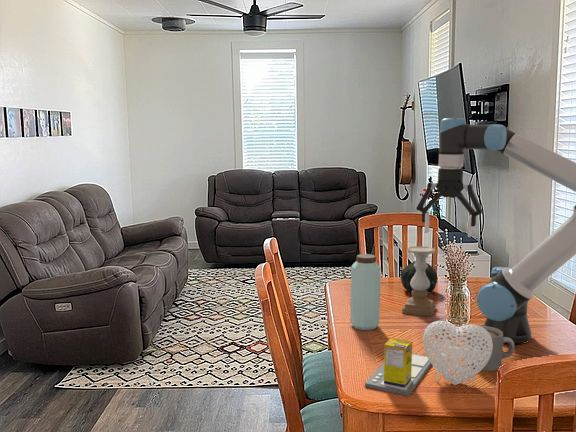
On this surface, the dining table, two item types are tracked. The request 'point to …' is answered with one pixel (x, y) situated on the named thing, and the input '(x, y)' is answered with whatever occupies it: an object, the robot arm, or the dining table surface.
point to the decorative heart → (457, 350)
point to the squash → (410, 272)
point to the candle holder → (420, 285)
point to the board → (377, 382)
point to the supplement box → (397, 362)
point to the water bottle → (365, 292)
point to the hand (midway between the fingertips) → (447, 234)
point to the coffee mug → (495, 348)
